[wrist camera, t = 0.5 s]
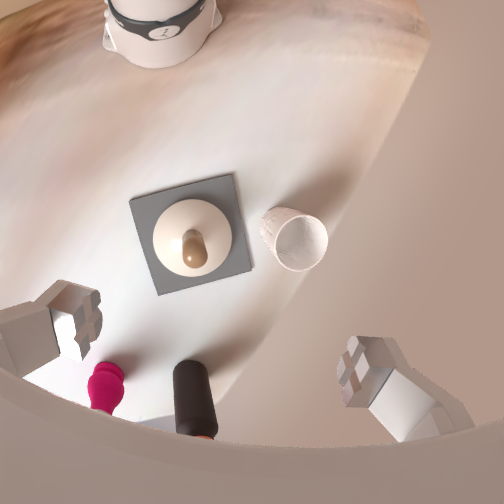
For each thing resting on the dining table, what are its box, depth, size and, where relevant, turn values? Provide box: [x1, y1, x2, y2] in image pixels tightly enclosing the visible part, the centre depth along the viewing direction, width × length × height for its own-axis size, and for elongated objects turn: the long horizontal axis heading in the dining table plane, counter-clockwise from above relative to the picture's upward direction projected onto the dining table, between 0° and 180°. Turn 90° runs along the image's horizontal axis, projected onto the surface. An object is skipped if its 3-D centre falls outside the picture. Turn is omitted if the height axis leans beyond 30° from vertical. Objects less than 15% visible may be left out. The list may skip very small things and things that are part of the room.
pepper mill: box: [87, 362, 124, 416], centre depth 41 cm, size 7×7×20 cm
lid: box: [153, 199, 232, 277], centre depth 41 cm, size 12×12×9 cm
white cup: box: [259, 207, 328, 271], centre depth 44 cm, size 8×8×10 cm
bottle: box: [173, 361, 218, 440], centre depth 44 cm, size 7×7×20 cm
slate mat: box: [129, 174, 252, 296], centre depth 45 cm, size 16×16×1 cm
